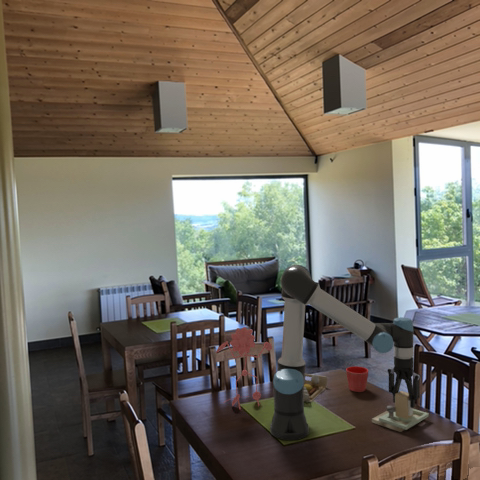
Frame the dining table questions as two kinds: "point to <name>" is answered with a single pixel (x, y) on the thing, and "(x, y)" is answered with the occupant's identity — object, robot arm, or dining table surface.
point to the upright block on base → (403, 413)
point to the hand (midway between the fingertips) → (404, 412)
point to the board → (376, 420)
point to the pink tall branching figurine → (243, 344)
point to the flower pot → (357, 378)
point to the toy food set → (314, 386)
